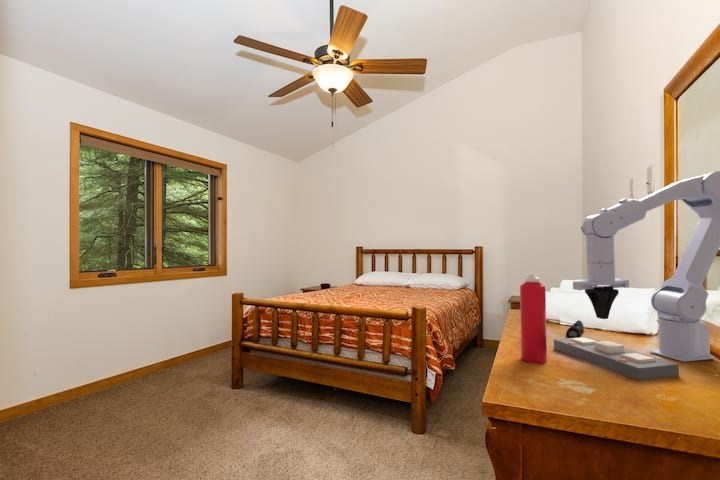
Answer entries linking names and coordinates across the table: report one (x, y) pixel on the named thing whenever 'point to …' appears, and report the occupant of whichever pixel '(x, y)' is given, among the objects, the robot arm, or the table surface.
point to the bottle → (533, 321)
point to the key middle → (609, 347)
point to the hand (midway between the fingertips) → (602, 318)
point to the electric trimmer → (575, 330)
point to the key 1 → (583, 341)
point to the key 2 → (638, 358)
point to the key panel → (619, 361)
